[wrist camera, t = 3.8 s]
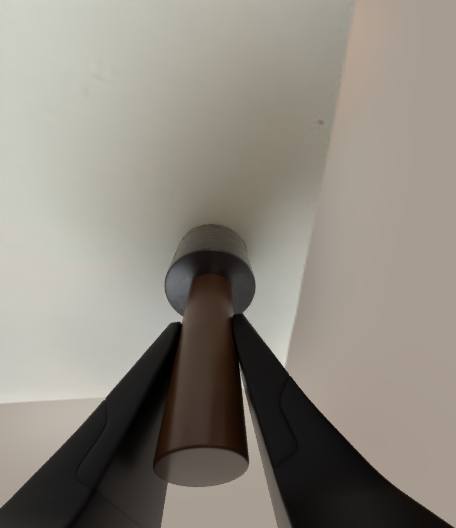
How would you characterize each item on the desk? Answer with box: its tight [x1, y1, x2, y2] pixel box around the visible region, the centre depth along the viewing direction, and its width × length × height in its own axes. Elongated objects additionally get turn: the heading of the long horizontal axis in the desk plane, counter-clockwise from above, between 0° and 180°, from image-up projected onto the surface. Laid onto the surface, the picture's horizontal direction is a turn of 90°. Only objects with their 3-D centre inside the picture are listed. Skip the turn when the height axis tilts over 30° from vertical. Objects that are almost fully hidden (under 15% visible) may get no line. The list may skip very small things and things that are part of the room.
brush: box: [153, 224, 256, 487], centre depth 10 cm, size 5×5×11 cm
